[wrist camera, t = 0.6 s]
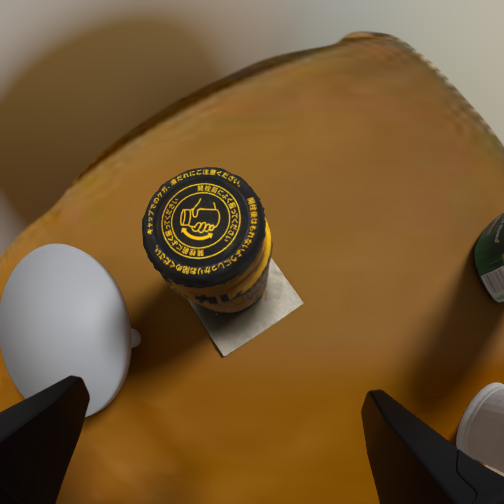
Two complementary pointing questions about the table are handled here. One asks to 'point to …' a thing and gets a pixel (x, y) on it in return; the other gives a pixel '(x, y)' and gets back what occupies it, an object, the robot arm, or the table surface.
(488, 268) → the coffee jar
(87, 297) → the round white stand
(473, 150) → the table surface
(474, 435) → the glass holder
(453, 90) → the table surface
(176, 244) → the condiment
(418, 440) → the robot arm
